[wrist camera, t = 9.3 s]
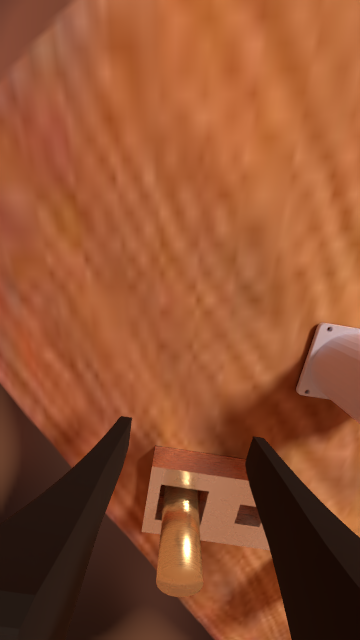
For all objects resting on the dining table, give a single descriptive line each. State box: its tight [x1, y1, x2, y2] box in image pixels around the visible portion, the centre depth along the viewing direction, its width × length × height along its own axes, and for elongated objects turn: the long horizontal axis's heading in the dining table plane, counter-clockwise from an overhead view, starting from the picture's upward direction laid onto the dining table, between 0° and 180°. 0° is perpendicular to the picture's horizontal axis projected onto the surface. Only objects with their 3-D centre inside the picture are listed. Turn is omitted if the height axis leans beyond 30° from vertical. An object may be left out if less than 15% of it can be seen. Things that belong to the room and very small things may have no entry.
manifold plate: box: [142, 446, 270, 550], centre depth 22 cm, size 16×10×2 cm, turn 81°
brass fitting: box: [156, 485, 203, 597], centre depth 20 cm, size 4×4×8 cm
